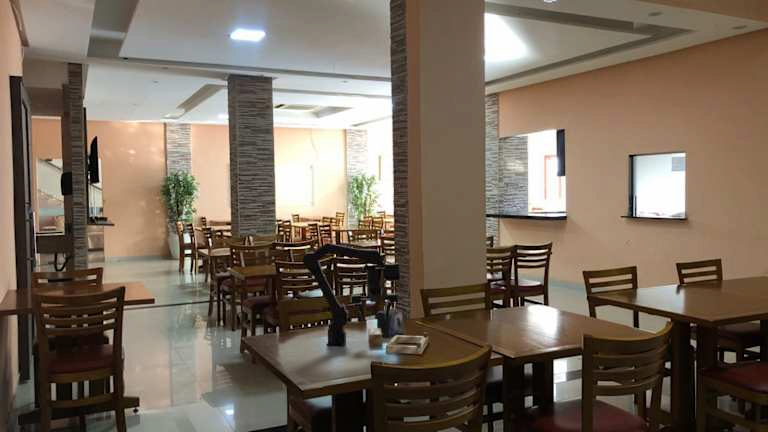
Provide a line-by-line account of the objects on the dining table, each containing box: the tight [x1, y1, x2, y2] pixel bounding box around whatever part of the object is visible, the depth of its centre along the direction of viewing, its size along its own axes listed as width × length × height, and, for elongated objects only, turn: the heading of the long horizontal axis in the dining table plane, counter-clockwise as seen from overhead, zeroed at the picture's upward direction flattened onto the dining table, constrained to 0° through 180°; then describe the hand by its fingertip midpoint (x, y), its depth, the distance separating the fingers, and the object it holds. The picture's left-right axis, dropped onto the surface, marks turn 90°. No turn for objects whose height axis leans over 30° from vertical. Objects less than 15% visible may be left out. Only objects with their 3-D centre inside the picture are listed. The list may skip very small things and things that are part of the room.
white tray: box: [385, 331, 429, 355], centre depth 242 cm, size 14×19×4 cm
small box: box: [376, 308, 403, 339], centre depth 263 cm, size 11×6×10 cm, turn 143°
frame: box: [367, 327, 383, 348], centre depth 249 cm, size 5×12×5 cm, turn 3°
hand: (374, 319), depth 249 cm, fingers open, 9 cm apart
